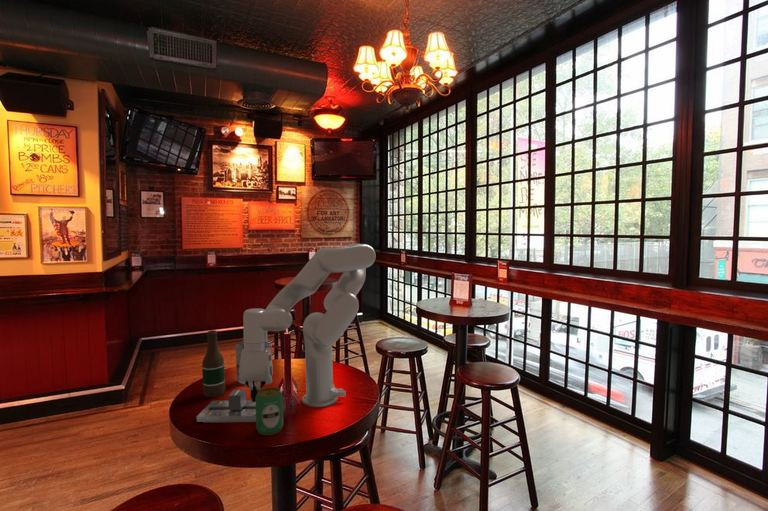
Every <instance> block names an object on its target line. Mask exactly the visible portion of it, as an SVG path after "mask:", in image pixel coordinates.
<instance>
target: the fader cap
mask: <svg viewBox="0 0 768 511" xmlns="http://www.w3.org/2000/svg"><path fill="white" fill-rule="evenodd" d="M227 397H228V398H227V399H228V400H227V401H228V404H229V410H241V409H242V408H243V407H244V405H245V404H246V400H247V393H246V389H233V390H232V391H231V392H230V394H228V396H227Z"/></svg>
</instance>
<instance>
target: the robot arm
mask: <svg viewBox="0 0 768 511" xmlns="http://www.w3.org/2000/svg"><path fill="white" fill-rule="evenodd" d="M376 255H377V254H376V250H375V249H374V248H373V247H372V246H371V245H369V244H368V243H367V244H366V243H358V242H357V243H355V242H353V243H350V244H348V245H346V246H343V247H341V246H340V247H328V246H325V247H321V248H319V249H318V250H316V252H315V253H314V254H313V256H312V257H311V258H310V259H309V260H308V262H306V264H305V265H304V266H303V268H302V269H301V271H299V272H298V274H297V275H296V276H295V277H294V278H293V279H291V281H289V282H288V283H287V284H286V285H285V286H284V287H283V288H282V289H281V290H279V291H278V293H277V294H276V295H275V296H274V298H273V299H272V300H271V301H270V303H268V305H267V307H266V308H265V309H264V308H261V307H260V308H248V309H246V310H245V311H244V312H243V316H242V319H243V320H242V322H243V327H242V328H243V341H244V349H243V350H242V353H241V358H240V367H239V378H240V381H239V382H238V383H239V384H242V385H245V386H246V387H248V389H249V391H250V399H251V400H252V402H256V401H255V397H256V395H257V392H258V391H259V390H261V389H263V387H264V386H265V385H271V384H272V382H273V378H272V376H273V371H274V370H273V369H274V368H273V359H272V352H271V349H270V348H272V346H273V344H272V342H269V341H268V332H269V331H273V332H283V331H285V330H287V329H289V328H290V327H291V326H292V323H293V316H292V314H291V312H290V311H291V310H292V309H293V307H294V306H295V305H296V304H297V303H299V302H300V301H301V300H303V299H304V298H306V297H310V296H311V295H314V294H315V293H316V292H317V291H318V289H319V287H320V286H321V285H322V284H323V283H324V281H325V280H326V279H327V278H328V276H329V275H330V274H331V273H332V274H336V273H342V274H341V276H340V277H339V279H338V280H337V282H336V283H335V284H334V286H333V287H332V288H331V289H330V291H329V292H328V293H327V294H326V296H325V297H324V300H323V306H324V309H325V313H322V312H317V311H316V312H312V313H310V314H308V316H306V318H305V319H304V322H303V325H302V334H303V342H304V353H305V358H304V360H305V386H306V387H305V388H306V389H305V390H306V391H305V392H306V394H304V395H303V396H302V398H301V402H302V404H304V406H307V407H310V408H323V407H329V406H331V405H334V404H335V403H337V401H338V398H339V397H346V390H344V388H336V387H335V386H336V385H335V384H334V372H333V369H334V366H333V345H334V344H335V343H336V342H337V341H338V340H339V339H340V338H341V337H342V335H343V334H344V333H345V331H346V330H347V328H348V327H349V326H350V325H351V324H352V322H353V320H355V317H356V316H357V315H358V311H359V308H360V305H359V304H360V303H359V299H358V297H357V295H358V294H359V292H360V291H361V289H362V288H363V286H364V283H365V282H366V277H367V275H366V274H367V273H366V272H367V271H366V270H367V268H369V267H371V266H372V265H374V263H375V262H376V258H377V256H376ZM256 382H257V383H256Z"/></svg>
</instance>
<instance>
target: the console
mask: <svg viewBox="0 0 768 511" xmlns="http://www.w3.org/2000/svg"><path fill="white" fill-rule="evenodd" d="M197 422H203V423H256V402H252V399H251V400H250V399H249V400H248V399H246V404H245V405H244V407H243V408H242V409H241V410H229V404H228V400H211V401H210V403H208V405H206V407H204V409H202V410H201V412H199V414H197V415H196V423H197Z"/></svg>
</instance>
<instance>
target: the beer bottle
mask: <svg viewBox="0 0 768 511" xmlns="http://www.w3.org/2000/svg"><path fill="white" fill-rule="evenodd" d="M217 334H218V331H217V330H214V329H213V330H208V331H207V332H206V336H207V341H206V342H207V344H206V346H207V347H206V354H205V356H204V357H203V360H202V364H201V369H202V371H201V372H202V373H201V374H202V392H203V393H202V394H203V396H204V397H206V398H209V399H211V398H218V397H221V396H223V395H224V393H225V392H226V377H225V376H226V373H225V372H226V371H225V360H224V359H225V358H224V356H223V354H222V353H221V352H220V351H219V346H218V336H217Z"/></svg>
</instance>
